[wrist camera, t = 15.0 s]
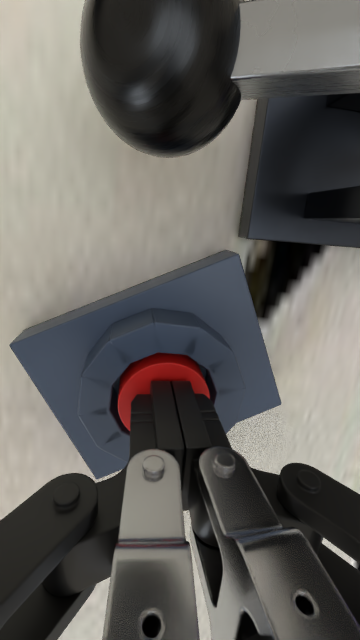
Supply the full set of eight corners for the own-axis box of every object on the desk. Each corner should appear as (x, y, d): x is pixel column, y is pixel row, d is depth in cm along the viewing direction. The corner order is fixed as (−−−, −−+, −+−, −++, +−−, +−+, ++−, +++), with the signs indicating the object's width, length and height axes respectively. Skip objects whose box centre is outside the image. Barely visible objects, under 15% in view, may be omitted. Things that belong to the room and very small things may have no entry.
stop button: (139, 426, 14) (139, 455, 12) (105, 363, 12) (101, 385, 11) (211, 397, 14) (221, 421, 12) (185, 331, 12) (192, 348, 11)
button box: (100, 454, 16) (91, 514, 13) (23, 329, 13) (-13, 366, 10) (267, 386, 16) (301, 428, 13) (226, 249, 14) (256, 259, 10)
